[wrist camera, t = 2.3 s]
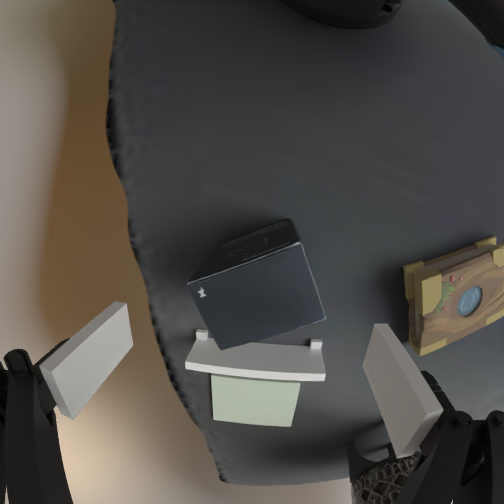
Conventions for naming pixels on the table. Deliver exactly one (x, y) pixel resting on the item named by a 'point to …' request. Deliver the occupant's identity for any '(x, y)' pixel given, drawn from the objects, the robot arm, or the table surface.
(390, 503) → the planter
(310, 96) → the table surface
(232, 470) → the table surface
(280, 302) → the box
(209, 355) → the handle
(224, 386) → the pad
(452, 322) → the book
